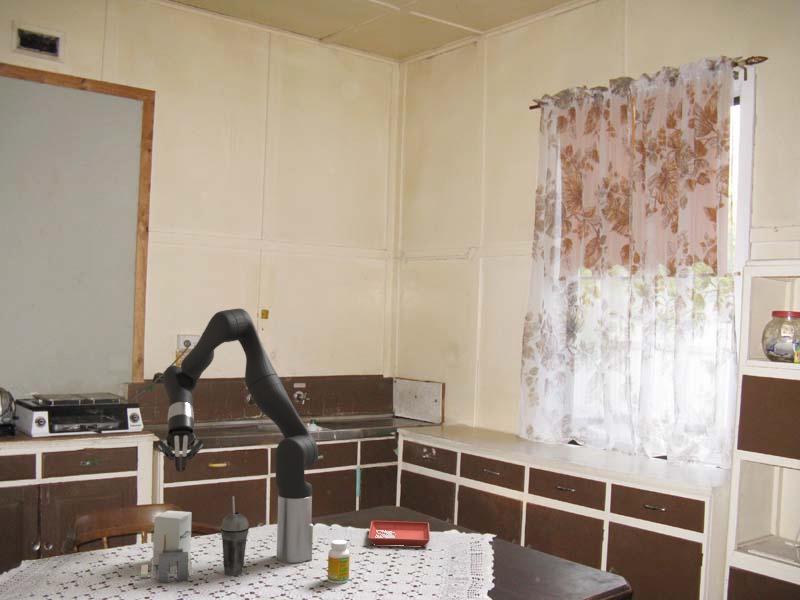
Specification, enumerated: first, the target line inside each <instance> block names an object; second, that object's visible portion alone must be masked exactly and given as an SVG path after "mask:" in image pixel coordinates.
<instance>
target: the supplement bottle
mask: <svg viewBox="0 0 800 600" xmlns="http://www.w3.org/2000/svg"><path fill="white" fill-rule="evenodd" d="M330 545H331V546H330V547H331V549H330V550H329V551H328V553H327V554H328V555H327V557H328V559H327V563H328V564H327V581H328V583H332V584H338V585H340V584H345V583H347V582H349V579H350V555H351V554H350V551H349V549H347V548H348V541H347V540H344V539H334V540H332V541H331V543H330Z"/></svg>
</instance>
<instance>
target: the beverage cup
mask: <svg viewBox="0 0 800 600" xmlns="http://www.w3.org/2000/svg"><path fill="white" fill-rule="evenodd" d="M235 505H236V504H235V496H234V495H233V496H232V512H230V513H228V514H227V515H226V516H224V518H223V520H222V522H221V526H220V534H221V540H222V541H221V542H222V543H221V544H222V559H223V562H222V563H223V571H224V576H226V577H231V576H233V577H238V576H242V575H243V570H244V563H245V555H246V549H247V548H246V546H247V545H246V544H247V537H248V534H249V530H250V526H249V521H248V518H247V517H246V515H244V514H243V513H241V512H239V511H236V508H235Z"/></svg>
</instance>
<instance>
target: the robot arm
mask: <svg viewBox="0 0 800 600" xmlns="http://www.w3.org/2000/svg"><path fill="white" fill-rule="evenodd" d="M236 341H238V342H239V344H240V346H241V347H242V350H243V351H244V354H245V361H246V362H245V373H244V382H245V386H246V389H247V390H248V393H249V394H250V397H251V398H252V400H253V402H254V404H255V405H256V406H257V408H258V409H259V410H260V412H262V413H263V414H264V415H265V416H266V417H267V418H268V419H270V420H271V421H272V422H273V423H274V424H275V425H276V427H278V429H279V430H280V432H281V434H282V436H283V438H284V439H282V440H280V442H279V443H278V445H277V447H276V451H275V460H274V462H275V485H276V487H277V490H278V491H277V495H278V496H277V497H278V498H277V524H276V525H277V528H276V531H277V533H276V534H277V535H276V559H277V560H278V561H279V562H282V563H291V564H294V563H295V564H296V563H297V564H298V563H302V562H306V561H311V560H313V538H314V536H313V533H314V532H313V530H314V525H313V523H312V512H313V510H312V508H313V507H312V506H313V503H312V502H313V501H312V500H313V486H312V484H311V483H310V482H307V481H306V478H305V476H306V475H305V469H308V468H310V467H312V466H314V465H315V464H316V463H317V462H318V459H319V456H320V455H319V447H318V444H317V442H316V440H315V439H314V437H313V436H312V434H311V432H310V431H309V430H308V427H307V426H306V424H304V422H303V420H302V419H301V417H300V415H299V413H298V412H297V410H296V408H295V406H294V404H293V403H292V401H291V399H290V397H289V395H288V393H287V391H286V389H285V387H284V385H283V383H282V381H281V378H280V377H279V375H278V373H277V372H276V369H275V368H274V367H273V364H272V362H271V361H270V360H271V359H269V356H268V354H267V352H266V350H265V348H264V345H263V344H262V343H263V342H261V341H262V340H261V338H260V336H259V333H258V330H257V328H256V326H255V324H254V322H253V319H252V317H251V315H250V314H249V313H248V311H246V310H245V309H244V308H231V309H225V310H220V311H217V312H216V313H214V315H213V316H212V317H211V319H210V320H209V322H208V323H207V325H206V327H205V328H204V330H203V333H202V334H201V336H200V338H199V340H198V342H197V343H196V345H194V347H193V348H192V349H191V350H190V351H189V353H187V354H186V356H184V358H183V359H182V361H181V364H180V366H179V365H176V364H175V365H169V366H168V367H167V368H165V371H164V372H163V377H162V378H163V385H164V389H165V392H166V395H167V398H168V413H167V436H166V437H165V439H164V440H160V441H158V447H157V448H158V450H159V451H160V452H161V453H162V454H163V455H164V456H165V457H166V458H167V459H168V460H170V461H172V460H173V461H174V470H175V471H177V473H184V471H186V469H187V461H188V460H189V461H190V460H193V459H194V457H195V456H196V455H197V454H198V453H199V452H200V451H201V450H202V449H203V446H204V441H203V440H201V439H200V440H199V439H197V436H196V435H195V414H194V413H195V412H194V400H193V399H194V397H193V394H192V393H191V392H193V391H195V390H196V389H197V387H198V383H199V380H200V378H201V377H202V374H203V373H204V371H205V370H206V369H208V367H209V366H210V365H211V364H212V362H213V361H214V358H215V350H216V349H217V348H218V347H219V346H221V345H222V344H224V343H231V342H236ZM168 446H169V447H170V448H171V449H170V448H169V447H168ZM192 446H193V447H192ZM191 447H192V448H191ZM190 448H191V449H190ZM189 449H190V450H189ZM188 450H189V452H188ZM173 451H174V452H173ZM180 452H181V453H182V454H181V453H180ZM180 454H181V456H180Z"/></svg>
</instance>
